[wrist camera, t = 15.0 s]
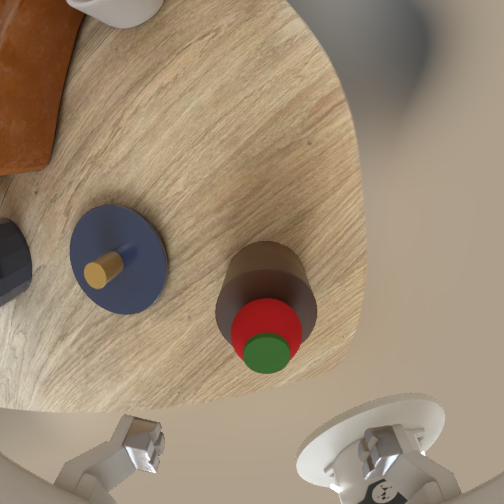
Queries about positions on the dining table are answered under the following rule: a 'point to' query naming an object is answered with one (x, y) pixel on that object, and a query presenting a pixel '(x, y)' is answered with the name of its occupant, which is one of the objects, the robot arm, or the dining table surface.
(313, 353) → the dining table surface
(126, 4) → the cup
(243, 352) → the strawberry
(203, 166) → the dining table surface
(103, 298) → the pot lid
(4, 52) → the bread
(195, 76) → the dining table surface
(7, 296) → the pot
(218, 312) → the stand
